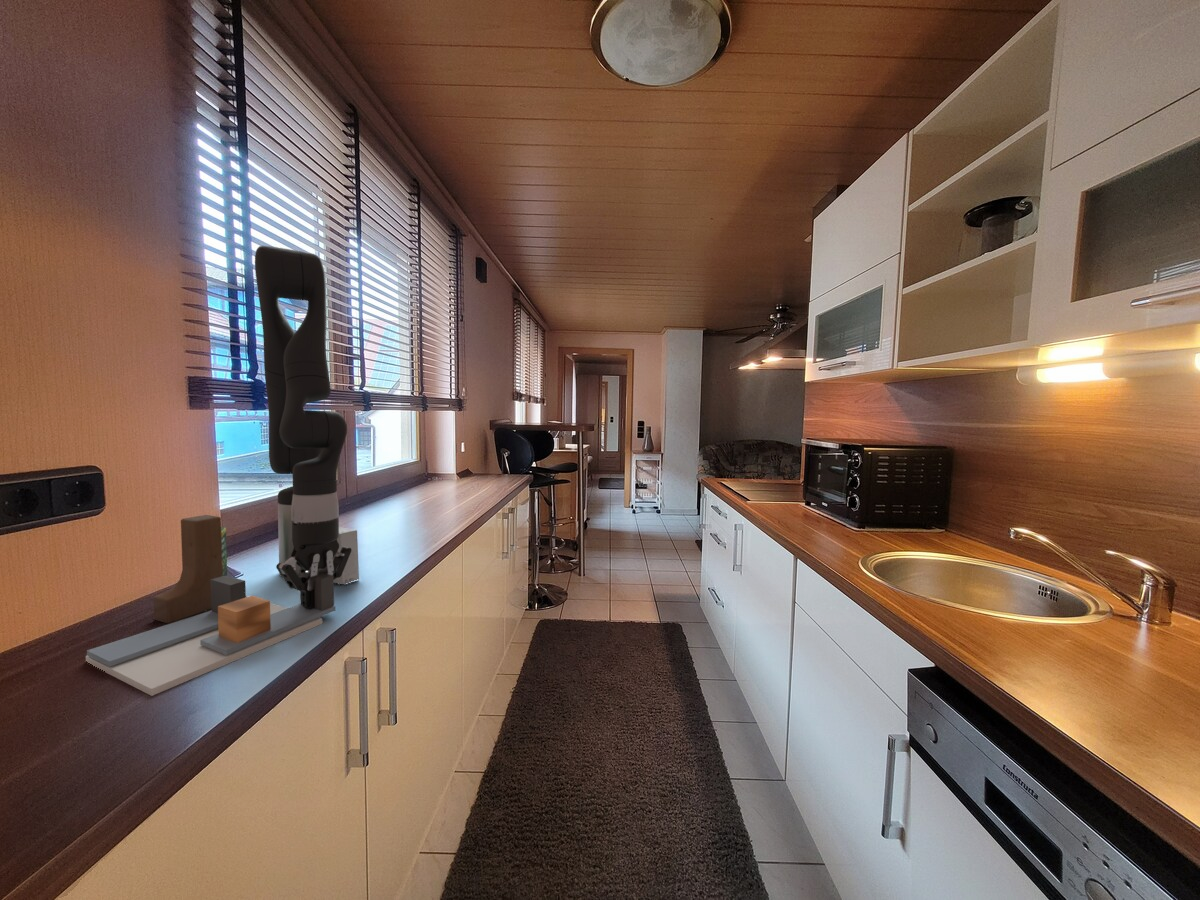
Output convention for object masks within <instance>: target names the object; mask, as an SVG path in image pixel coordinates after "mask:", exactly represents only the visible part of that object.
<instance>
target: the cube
mask: <svg viewBox="0 0 1200 900" xmlns="http://www.w3.org/2000/svg"><path fill="white" fill-rule="evenodd" d="M270 603H271V601H270V600H269V599H265V598H261V597H258V596H255V595H248V596H246V598H243V599H239V600H236V601H233V602H230V603H227V604H224V605H220V606H218V630H219V636H220V637H223V638H225V639H228V640H231V641H233V642H236V643H238V642H241V641H243V640H246V639H248V638H251V637H253V636H256V635H258V634H261V633H263V632H266V631H269V630H271V622H270Z"/></svg>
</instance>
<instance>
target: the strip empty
mask: <svg viewBox="0 0 1200 900" xmlns="http://www.w3.org/2000/svg"><path fill="white" fill-rule="evenodd" d="M246 588H247V587H246V580H244V579H241V578H238V577H237V578H236V577H233V576H229V575H227V576H222V577H218V578H214V579H211V610H208V611H205V612H202V613H199V614H196V615H193V616H190V617H187V618H184V619H181V620H178V621H175V622H172V623H169V624H165V625H162V626H158V627H155V628H153V629H149V630H146V631H142V632H140V633H137V634H134V635H130V636H128V637H124V638H121V639H118V640H115V641H112V642H108V643H107V644H103V645H100V646H97V647H94V648H91V649H87V650H86V656H89V657H91V658H93V659H95V660H97V661H99V662H101V663H103V664H105V665H107V666H109V667H111V666H113V665H116V664H119V663H122V662H125V661H127V660H130V659H133V658H136V657H139V656H142V655H144V654H147V653H150V652H153V651H156V650H158V649H161V648H164V647H167V646H170V645H172V644H175V643H178V642H181V641H184V640H187V639H189V638H192V637H195V636H198V635H201V634H203V633H206V632H209V631H212V630H215V629H218V606H220V605H224V604H227V603H230V602H233V601H236V600H239V599H243V598H246V597H247V593H246V592H247V591H246Z"/></svg>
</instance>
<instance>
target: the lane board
mask: <svg viewBox="0 0 1200 900" xmlns="http://www.w3.org/2000/svg"><path fill="white" fill-rule="evenodd" d="M287 608H288V607H285V606H282V605H278V604H276V603H272V602H270V615H271V614H273V613H276V612H279V611H282V610H284V609H287ZM322 624H323V618H322V617H319V618H316V619H314V620H311V621H309V622H306V623H304V624H301V625H299V626H297V627H294V628H292V629H289V630H287V631H284V632H282V633H279V634H277V635H275V636H272V637H270V638H267V639H265V640H262V641H260V642H257V643H255V644H252V645H250V646H248V647H245V648H243V649H240V650H238V651H235V652H233V653H230V654H228V655H225V654H222V653H220V652H217V651H215V650H212V649H209V648H207V647H204V646H202V645H200V640H202V639H205V638H208V637H210V636H213V635H216V634H219V630H218V629H215V630H212V631H209V632H206V633H203V634H201V635H198V636H195V637H192V638H189V639H187V640H184V641H181V642H178V643H175V644H172V645H170V646H167V647H164V648H161V649H158V650H156V651H153V652H150V653H147V654H144V655H142V656H139V657H136V658H133V659H130V660H127V661H125V662H122V663H119V664H116V665H113V666H111V667H109V666H107V665H105V664H103V663H101V662H99V661H97V660H95V659H93V658H91V657H89V656H87V655H85V662H86V661H87V662H88V663H90V664H92V665H93V667H94V666H95V668H96V667H97V668H96V669H98V668H99V669H98V670H100V669H101V670H100V671H102V670H103V671H102V672H104V671H105V672H104V673H106V674H108V675H110V676H112V677H113V678H116V679H117V680H119V681H122V682H124V683H126V684H128V685H130V686H132V687H133V688H135V689H138V690H139V691H142V692H143V693H145V694H147V695H150V696H151V697H153V696H155V695H158V694H160V693H162V692H164V691H167V690H169V689H172V688H174V687H176V686H179V685H181V684H183V683H185V682H188V681H190V680H192V679H195V678H197V677H200V676H202V675H204V674H207V673H209V672H212V671H214V670H216V669H219V668H221V667H223V666H226V665H227V664H228V665H229V664H230V663H232V662H235V661H237V660H240V659H242V658H244V657H247V656H249V655H252V654H254V653H257V652H259V651H260V650H263V649H265V648H268V647H270V646H273V645H275V644H277V643H279V642H282V641H284V640H287V639H289V638H292V637H294V636H296V635H299V634H302V633H304V632H305V631H308V630H310V629H313V628H315V627H318V626H321V625H322ZM88 663H87V664H88ZM90 664H89V665H90ZM92 665H91V666H92Z"/></svg>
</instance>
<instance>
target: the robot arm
mask: <svg viewBox="0 0 1200 900" xmlns="http://www.w3.org/2000/svg"><path fill="white" fill-rule="evenodd" d="M254 271H255V281H256V287H257V293H258V300H259V301H258V302H259V309H260V315H261V323H262V335H263V336H262V337H263V367H264V379H265V380H264V381H265V389H266V396H267V397H266V398H267V407H268V461H269V466H270V468H271V471H273V472H274V473H275V474H278V475H292V486H290V487H289V486H287V487H285V488H283V489H281V490H280V491H278V493H277V518H278V519H277V522H278V523H277V525H278V529H277V531H278V563H277V564H276V565H275V568H276V570H277V571H278V573H279V574H280V575H281V576H280V575H279V576H280V577H282V579H283V580H284V581H285V583H286V584H287V587H289V589H292V590H297V591H301V601H300V604H302V606H304V608H306V609H309V610H311V609H313V608H315V590H314V589H313V588H314V580H315V577H316V576H317V572H321V573H325V574H330V575H333V580H334V579H336V578H339V577H341V575H342V573H343V571H344V568H345V566H346V563H347V561H348V558H349V556H350V553H351V551H352V550H351V548H348V547H343V546H339V543H338V541H337V539H338V537H339V527H340V521H339V517H340V512H339V510H340V509H339V506H340V505H339V497H338V485H337V482H338V479H337V477H338V476H337V475H338V473H337V472H338V467H339V462H340V458H341V454H342V450H343V448H344V445H345V442H346V438H347V434H348V425H347V421H346V419H345V417H344V416H343V415H342V414H341V413H339V412H338V411H334V410H311V409H310V410H306V409H304V407H305V406H306V405H307V404H308V403H315V402H319V401H324V400H326V399H328V398H329V397H330V396H331V393H332V391H331V390H332V389H331V388H332V387H331V382H330V373H329V367H328V366H329V365H328V359H327V286H326V285H327V284H326V273H325V268H324V264H323V262H322V259H321V258H320V257H319V255H317V254H316V253H311V252H307V251H303V250H296V249H290V248H283V247H277V246H271V245H260V246H258V247H257V248H256V251H255V255H254ZM279 299H289V300H298V301H306V302H307V312H306V315H305V317H304V318H303V320H302V322H301V324H300V325H299V327H298V328H297V330H296V331H295V330H294V328H293V327H292V326H291V324H290V322H289V321H288V320H287V317H286V316H285V314H284V313H283V310H282V308H281V305H280V303H279ZM334 556H335V557H334ZM333 558H334V560H333ZM337 567H338V568H337Z"/></svg>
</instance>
